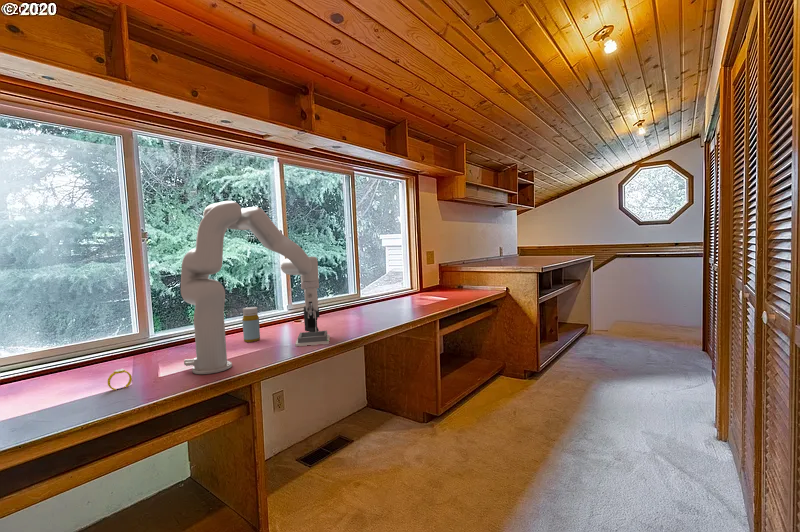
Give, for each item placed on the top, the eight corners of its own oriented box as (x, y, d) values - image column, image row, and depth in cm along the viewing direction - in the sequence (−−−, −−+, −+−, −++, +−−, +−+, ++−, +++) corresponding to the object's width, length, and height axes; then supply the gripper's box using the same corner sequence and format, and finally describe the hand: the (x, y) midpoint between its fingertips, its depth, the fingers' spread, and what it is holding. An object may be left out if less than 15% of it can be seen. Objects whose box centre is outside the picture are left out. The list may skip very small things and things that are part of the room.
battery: (321, 331, 173) (320, 305, 172) (314, 332, 170) (313, 306, 169) (311, 329, 177) (309, 304, 177) (304, 331, 174) (302, 305, 174)
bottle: (253, 338, 185) (251, 306, 185) (263, 339, 181) (261, 307, 181) (240, 341, 180) (238, 308, 179) (250, 343, 176) (247, 309, 175)
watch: (130, 386, 125) (130, 367, 125) (132, 388, 123) (132, 368, 123) (106, 390, 120) (107, 371, 120) (109, 392, 119) (109, 372, 119)
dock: (295, 346, 165) (294, 339, 165) (298, 339, 179) (297, 332, 179) (329, 344, 168) (328, 336, 167) (329, 336, 181) (329, 329, 181)
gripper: (318, 286, 164) (320, 329, 165) (319, 282, 181) (321, 321, 182) (299, 287, 163) (302, 330, 164) (302, 283, 180) (305, 322, 181)
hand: (312, 325), depth 173 cm, fingers closed on battery, 6 cm apart
